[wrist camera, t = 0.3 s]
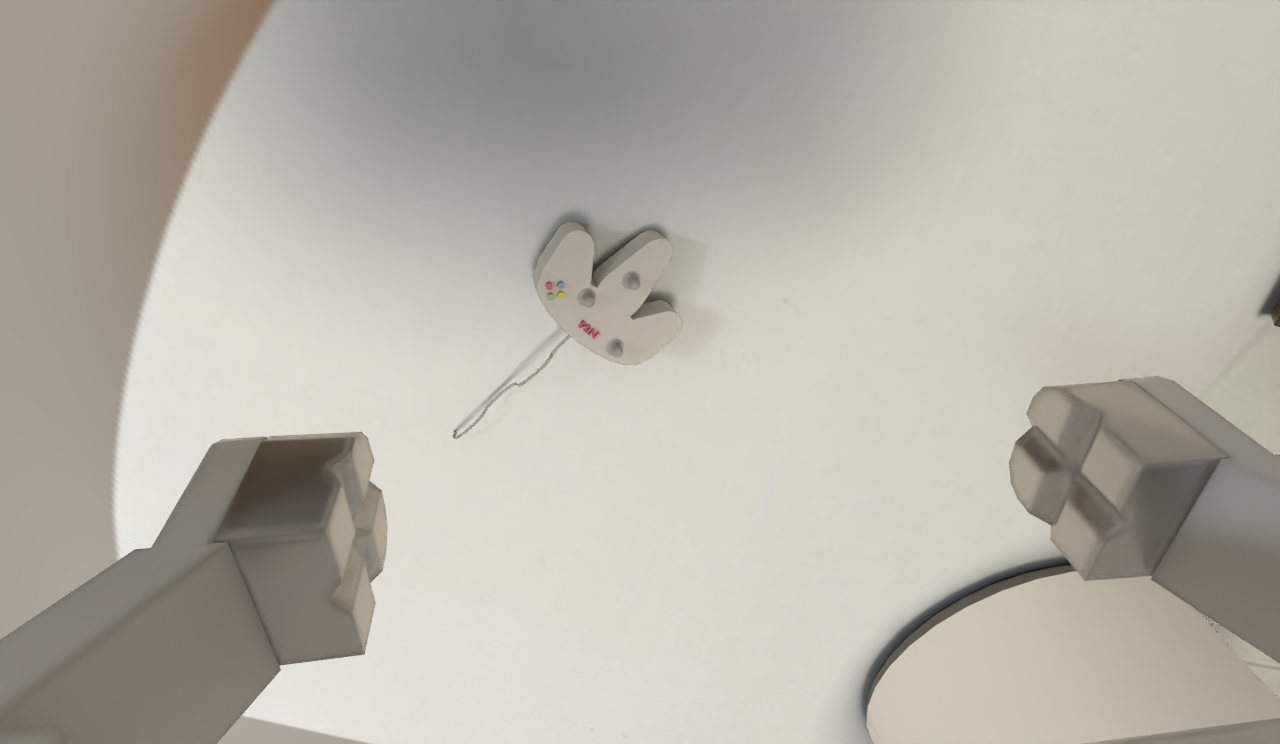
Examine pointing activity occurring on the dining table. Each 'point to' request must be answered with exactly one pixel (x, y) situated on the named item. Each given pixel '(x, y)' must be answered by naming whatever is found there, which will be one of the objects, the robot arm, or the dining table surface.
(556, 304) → the game controller
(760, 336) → the dining table surface
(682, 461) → the dining table surface
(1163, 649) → the bucket
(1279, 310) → the wedge
